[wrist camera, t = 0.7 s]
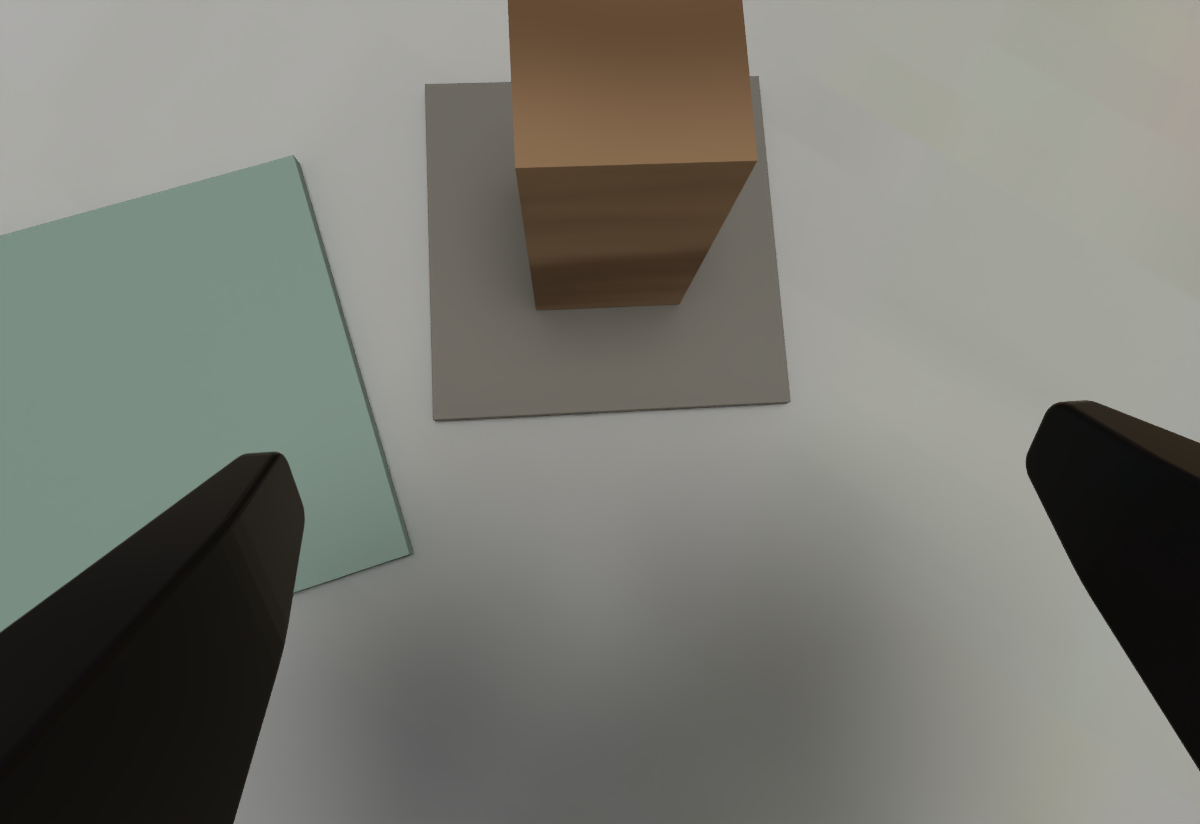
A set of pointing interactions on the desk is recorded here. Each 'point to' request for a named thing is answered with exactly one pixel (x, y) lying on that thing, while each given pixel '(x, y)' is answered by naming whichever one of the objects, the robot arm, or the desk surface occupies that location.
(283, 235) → the teal pad
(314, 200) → the desk surface
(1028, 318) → the desk surface
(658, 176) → the walnut block
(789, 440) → the desk surface
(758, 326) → the tile
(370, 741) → the desk surface
